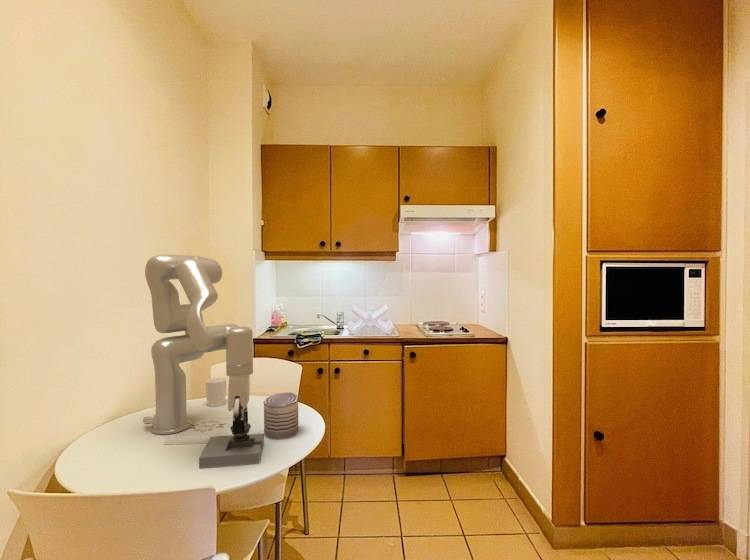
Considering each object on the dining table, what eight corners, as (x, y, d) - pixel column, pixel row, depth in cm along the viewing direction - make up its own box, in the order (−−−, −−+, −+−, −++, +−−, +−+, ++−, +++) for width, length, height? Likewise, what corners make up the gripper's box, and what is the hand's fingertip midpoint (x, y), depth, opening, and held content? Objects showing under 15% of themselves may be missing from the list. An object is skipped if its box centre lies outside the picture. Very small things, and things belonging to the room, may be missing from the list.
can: (305, 432, 137) (305, 397, 136) (277, 443, 128) (277, 405, 127) (284, 423, 144) (284, 390, 144) (257, 433, 135) (256, 398, 135)
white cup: (230, 404, 165) (229, 379, 164) (211, 408, 159) (210, 383, 159) (221, 399, 170) (220, 376, 170) (202, 404, 165) (202, 380, 164)
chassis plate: (199, 468, 112) (199, 457, 112) (211, 446, 125) (210, 436, 125) (258, 463, 114) (258, 453, 114) (264, 442, 128) (263, 433, 128)
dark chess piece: (231, 444, 116) (230, 403, 116) (229, 436, 122) (229, 397, 121) (252, 440, 119) (251, 400, 118) (249, 433, 124) (249, 394, 124)
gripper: (231, 362, 127) (232, 419, 128) (220, 377, 110) (221, 442, 111) (256, 361, 129) (257, 417, 129) (248, 375, 112) (249, 440, 112)
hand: (240, 428), depth 120 cm, fingers closed on dark chess piece, 5 cm apart
